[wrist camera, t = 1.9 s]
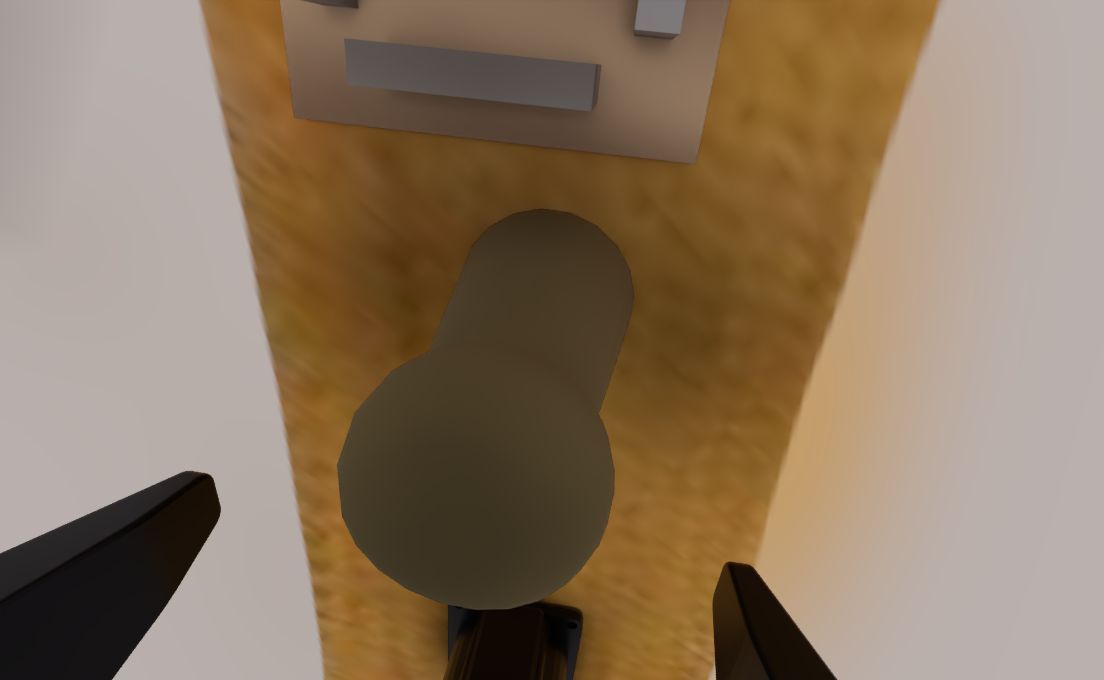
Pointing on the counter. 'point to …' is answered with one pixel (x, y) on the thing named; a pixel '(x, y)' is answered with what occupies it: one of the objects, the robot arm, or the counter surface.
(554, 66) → the clip holder
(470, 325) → the cork
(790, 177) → the counter surface
